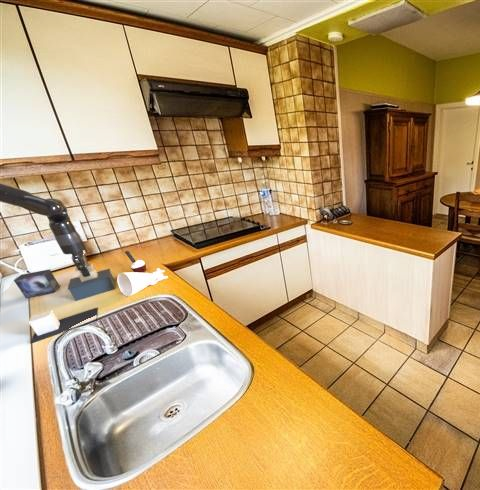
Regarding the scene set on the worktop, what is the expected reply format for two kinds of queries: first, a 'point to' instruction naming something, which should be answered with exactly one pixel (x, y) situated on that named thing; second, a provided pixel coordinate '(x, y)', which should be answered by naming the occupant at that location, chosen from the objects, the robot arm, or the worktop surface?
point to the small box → (37, 283)
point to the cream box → (91, 270)
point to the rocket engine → (137, 281)
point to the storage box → (92, 285)
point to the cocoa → (136, 264)
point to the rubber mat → (67, 324)
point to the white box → (44, 322)
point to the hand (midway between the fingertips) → (87, 273)
